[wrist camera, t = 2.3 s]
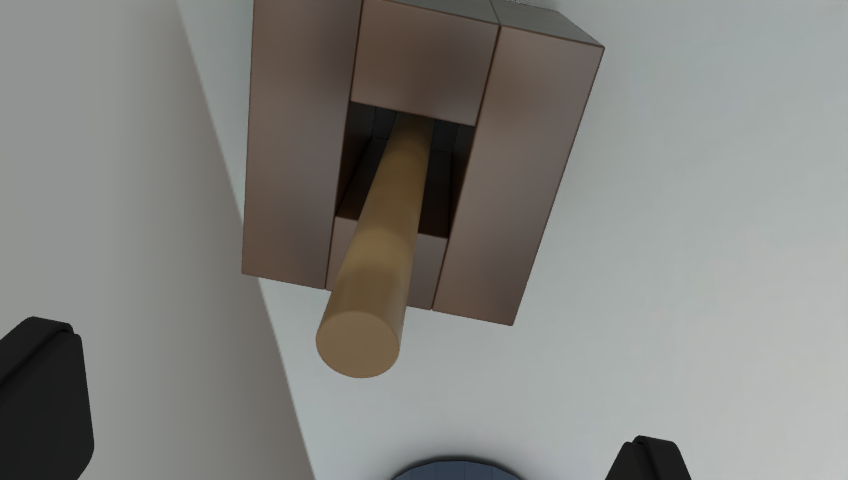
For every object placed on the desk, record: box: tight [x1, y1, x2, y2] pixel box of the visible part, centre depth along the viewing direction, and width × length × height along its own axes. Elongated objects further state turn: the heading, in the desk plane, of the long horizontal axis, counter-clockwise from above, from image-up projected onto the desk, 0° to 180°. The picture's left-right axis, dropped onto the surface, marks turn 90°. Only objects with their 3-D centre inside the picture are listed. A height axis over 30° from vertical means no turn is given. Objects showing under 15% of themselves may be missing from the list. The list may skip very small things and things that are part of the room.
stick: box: [316, 112, 435, 378], centre depth 21 cm, size 2×2×20 cm
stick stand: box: [242, 0, 605, 326], centre depth 25 cm, size 12×12×10 cm
